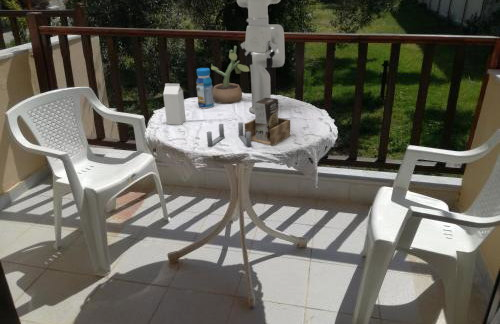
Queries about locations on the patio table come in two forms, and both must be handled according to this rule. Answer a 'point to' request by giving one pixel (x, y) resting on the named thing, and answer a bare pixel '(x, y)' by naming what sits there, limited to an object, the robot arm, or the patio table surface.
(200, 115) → the patio table surface
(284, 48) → the robot arm
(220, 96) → the potted plant
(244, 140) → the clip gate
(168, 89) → the milk carton
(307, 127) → the patio table surface
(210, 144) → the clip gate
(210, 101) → the beverage bottle
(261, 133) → the coffee box
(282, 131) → the wooden tray
